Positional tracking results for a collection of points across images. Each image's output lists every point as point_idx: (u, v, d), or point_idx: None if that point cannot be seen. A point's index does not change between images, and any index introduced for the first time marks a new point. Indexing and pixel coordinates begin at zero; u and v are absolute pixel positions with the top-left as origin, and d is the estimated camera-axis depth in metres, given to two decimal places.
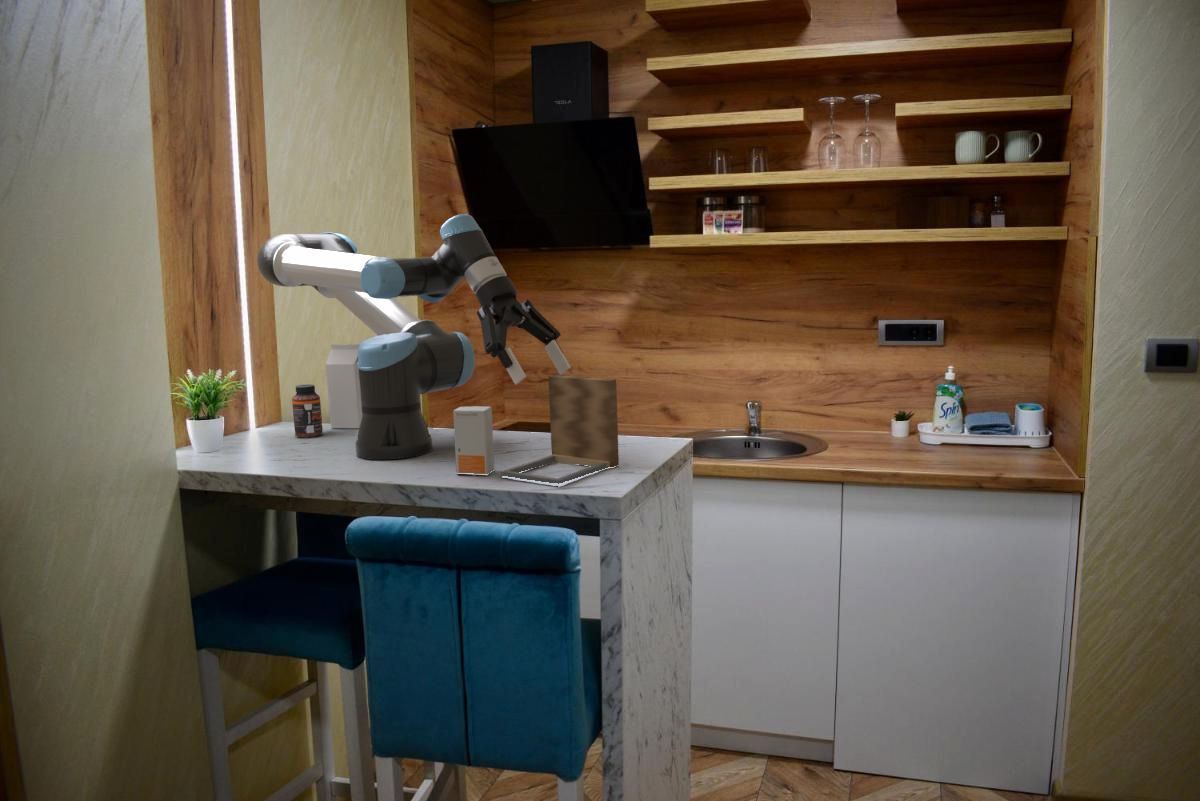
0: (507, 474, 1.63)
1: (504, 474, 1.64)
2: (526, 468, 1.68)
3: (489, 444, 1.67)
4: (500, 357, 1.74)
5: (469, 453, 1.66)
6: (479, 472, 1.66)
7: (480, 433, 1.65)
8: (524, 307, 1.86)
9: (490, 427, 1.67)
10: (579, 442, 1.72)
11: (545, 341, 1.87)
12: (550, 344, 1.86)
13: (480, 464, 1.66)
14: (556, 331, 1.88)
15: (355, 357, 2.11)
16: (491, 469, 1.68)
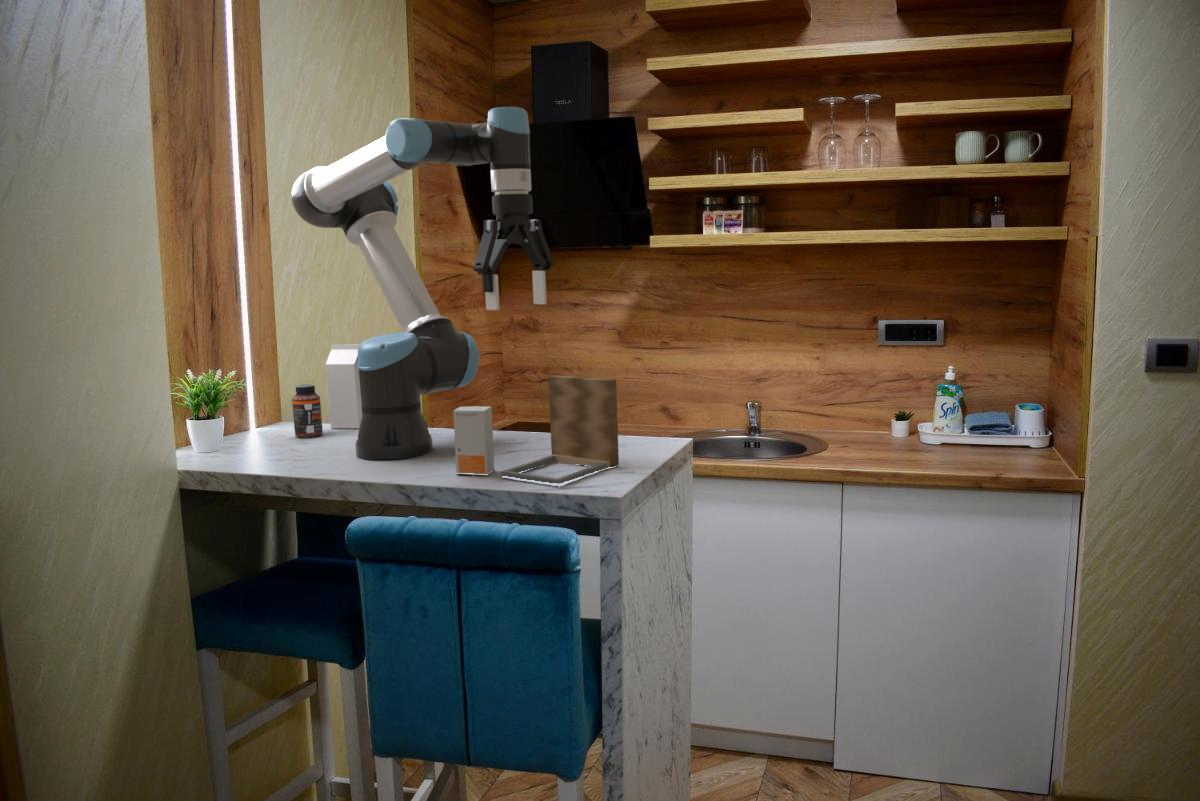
0: (507, 474, 1.63)
1: (504, 474, 1.64)
2: (526, 468, 1.68)
3: (489, 444, 1.67)
4: (484, 280, 1.71)
5: (469, 453, 1.66)
6: (479, 472, 1.66)
7: (480, 433, 1.65)
8: (532, 226, 1.80)
9: (490, 427, 1.67)
10: (579, 442, 1.72)
11: (536, 265, 1.83)
12: (539, 272, 1.83)
13: (480, 464, 1.66)
14: (551, 260, 1.84)
15: (355, 357, 2.11)
16: (491, 469, 1.68)
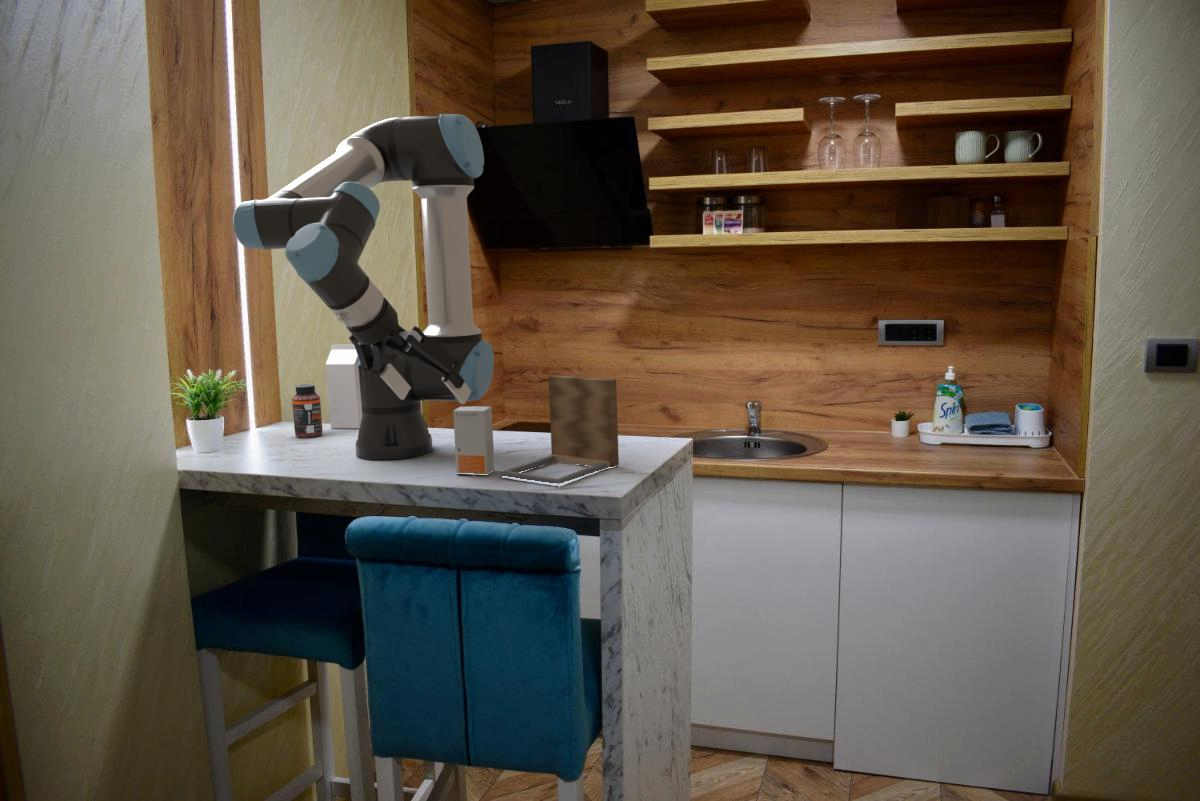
0: (507, 474, 1.63)
1: (504, 474, 1.64)
2: (526, 468, 1.68)
3: (489, 444, 1.67)
4: None
5: (469, 453, 1.66)
6: (479, 472, 1.66)
7: (480, 433, 1.65)
8: None
9: (490, 427, 1.67)
10: (579, 442, 1.72)
11: None
12: None
13: (480, 464, 1.66)
14: (449, 372, 1.47)
15: (355, 357, 2.11)
16: (491, 469, 1.68)
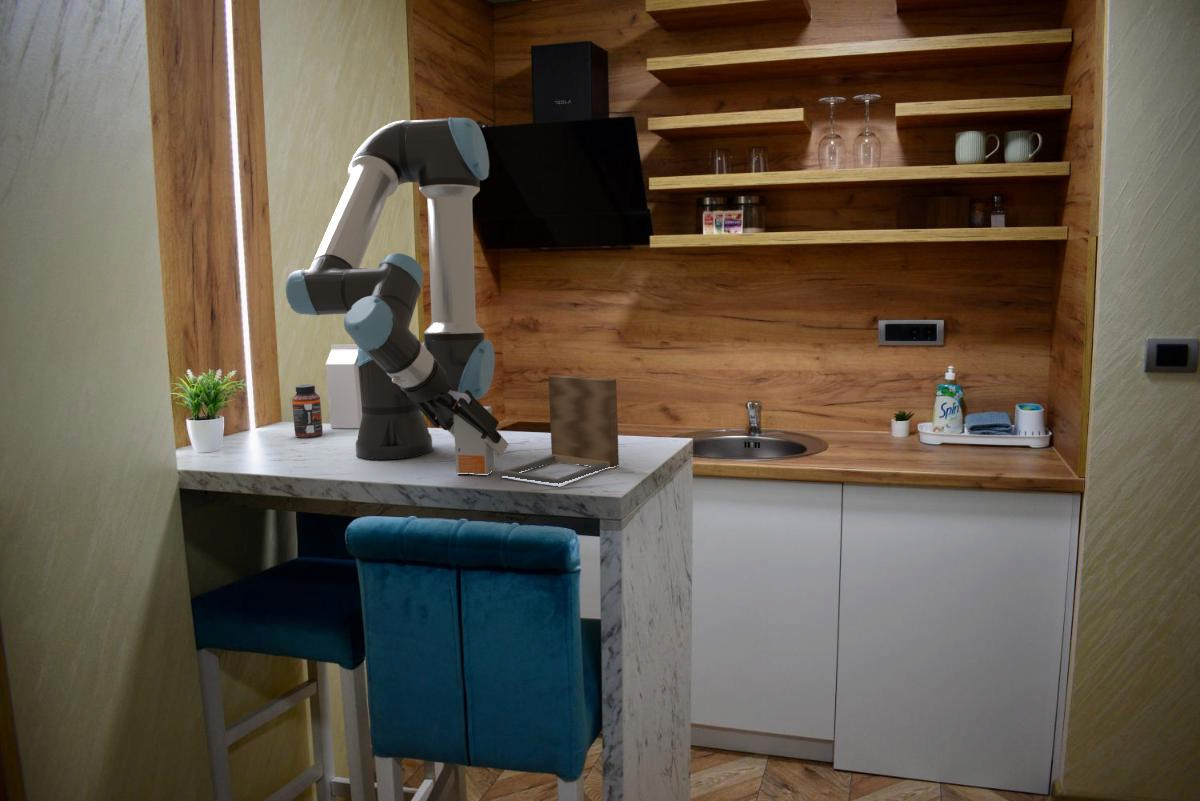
0: (507, 474, 1.63)
1: (504, 474, 1.64)
2: (526, 468, 1.68)
3: None
4: None
5: (469, 453, 1.66)
6: (479, 472, 1.66)
7: (480, 433, 1.65)
8: (458, 399, 1.57)
9: None
10: (579, 442, 1.72)
11: None
12: None
13: (480, 463, 1.66)
14: (488, 430, 1.61)
15: (355, 357, 2.11)
16: (491, 469, 1.68)
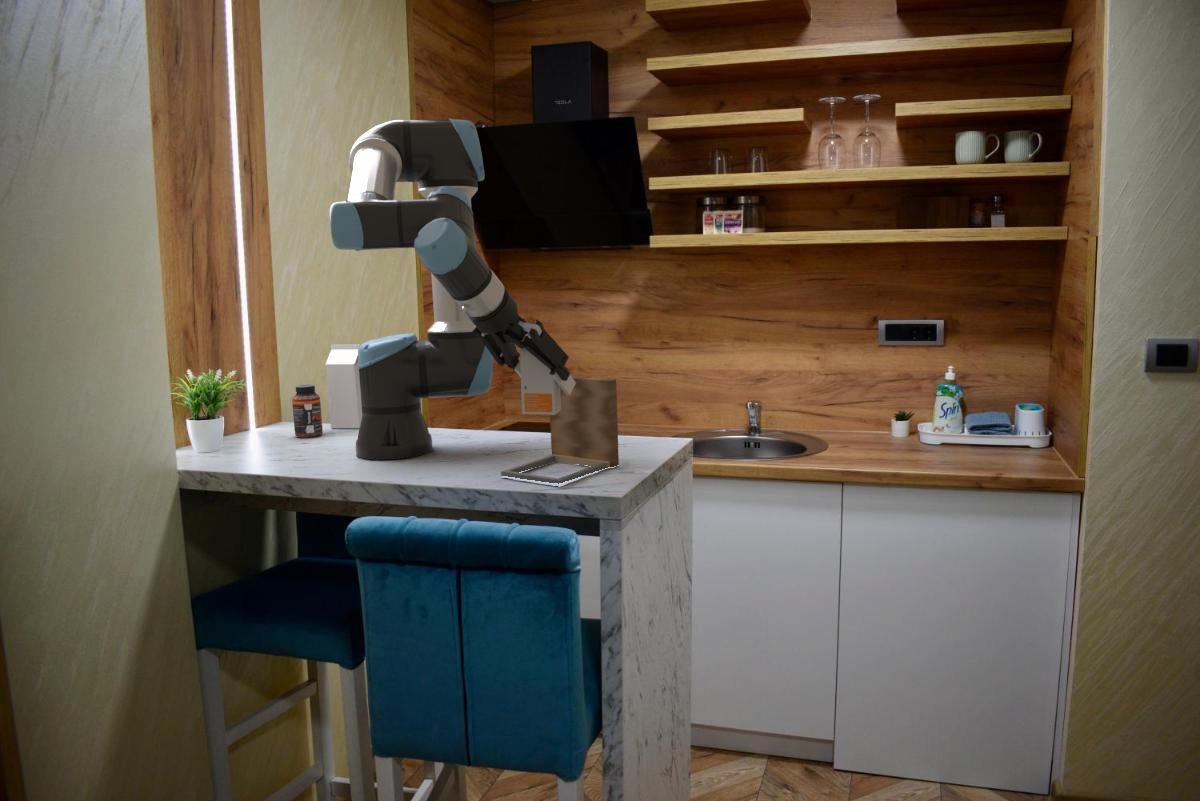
0: (507, 474, 1.63)
1: (504, 474, 1.64)
2: (526, 468, 1.68)
3: (556, 382, 1.60)
4: None
5: (535, 391, 1.59)
6: (546, 411, 1.60)
7: (548, 370, 1.58)
8: (529, 331, 1.50)
9: None
10: (579, 442, 1.72)
11: None
12: None
13: (547, 402, 1.59)
14: (558, 365, 1.54)
15: (355, 357, 2.11)
16: (558, 408, 1.62)
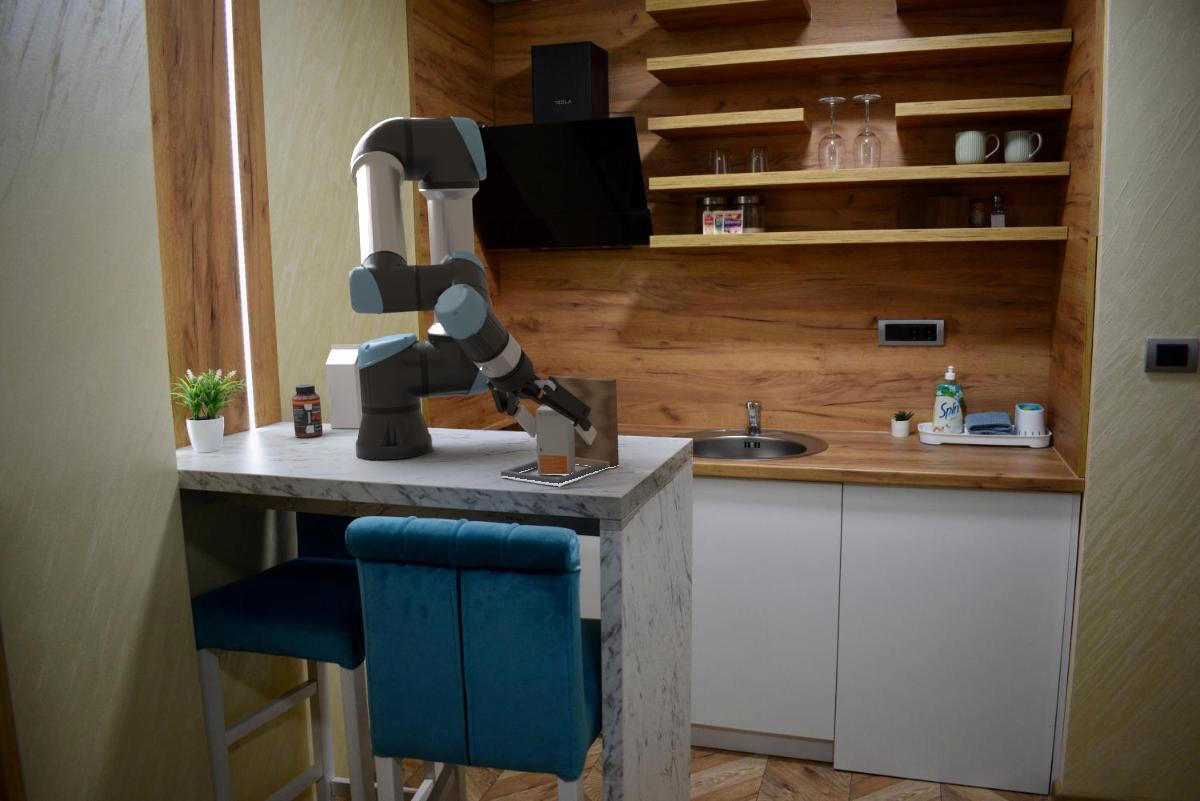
0: (507, 474, 1.63)
1: (504, 474, 1.64)
2: (526, 468, 1.68)
3: (571, 444, 1.65)
4: None
5: (551, 453, 1.64)
6: (561, 472, 1.64)
7: (563, 433, 1.63)
8: None
9: (572, 427, 1.65)
10: (579, 442, 1.72)
11: None
12: None
13: (562, 464, 1.64)
14: (580, 418, 1.56)
15: (355, 357, 2.11)
16: (572, 469, 1.66)
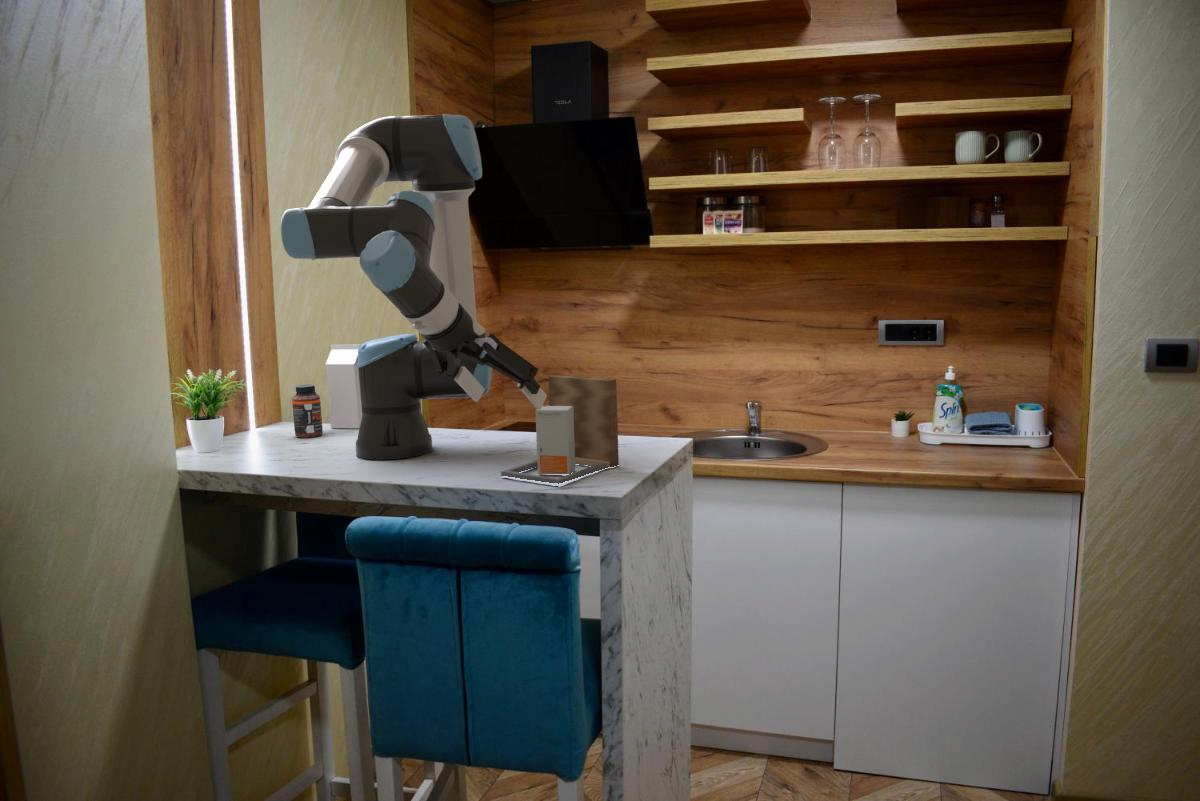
0: (507, 474, 1.63)
1: (504, 474, 1.64)
2: (526, 468, 1.68)
3: (571, 444, 1.65)
4: None
5: (551, 453, 1.64)
6: (561, 472, 1.64)
7: (563, 433, 1.63)
8: None
9: (572, 427, 1.65)
10: (579, 442, 1.72)
11: None
12: None
13: (562, 464, 1.64)
14: (525, 379, 1.43)
15: (355, 357, 2.11)
16: (572, 469, 1.66)
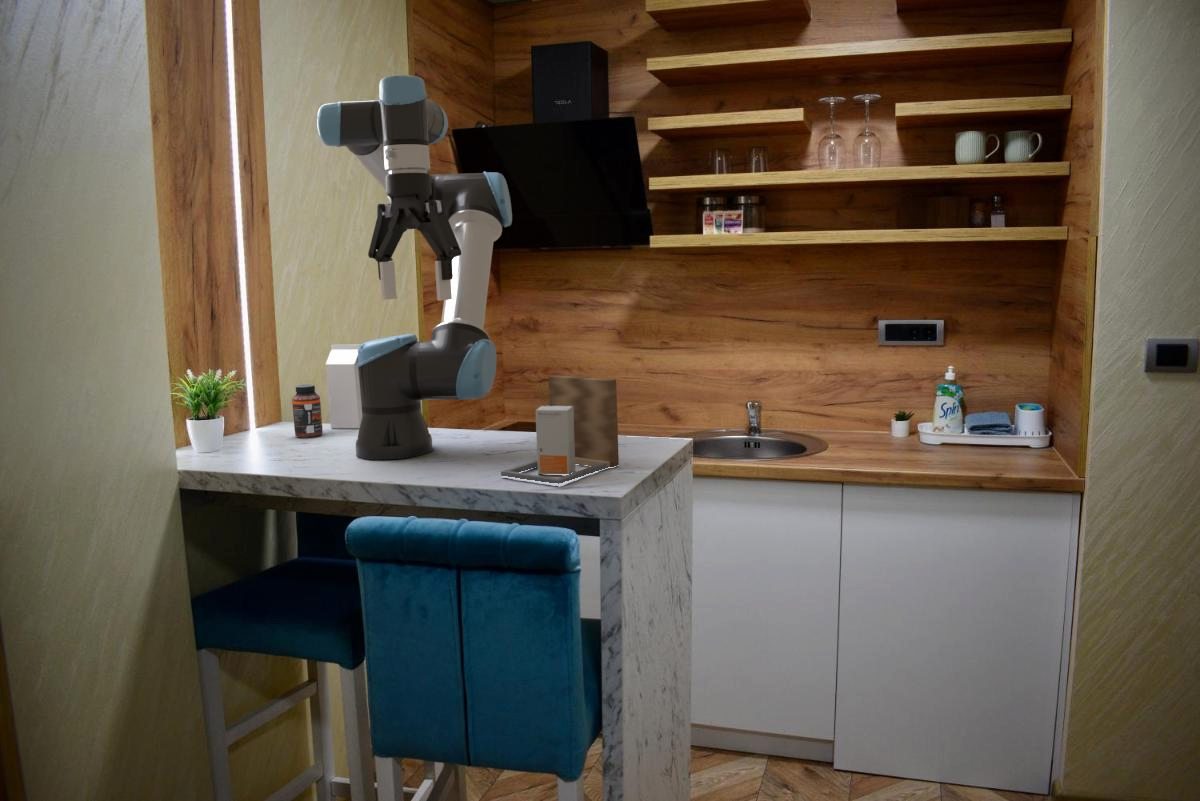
0: (507, 474, 1.63)
1: (504, 474, 1.64)
2: (526, 468, 1.68)
3: (571, 444, 1.65)
4: None
5: (551, 453, 1.64)
6: (561, 472, 1.64)
7: (563, 433, 1.63)
8: None
9: (572, 427, 1.65)
10: (579, 442, 1.72)
11: None
12: None
13: (562, 464, 1.64)
14: (447, 249, 1.53)
15: (355, 357, 2.11)
16: (572, 469, 1.66)
